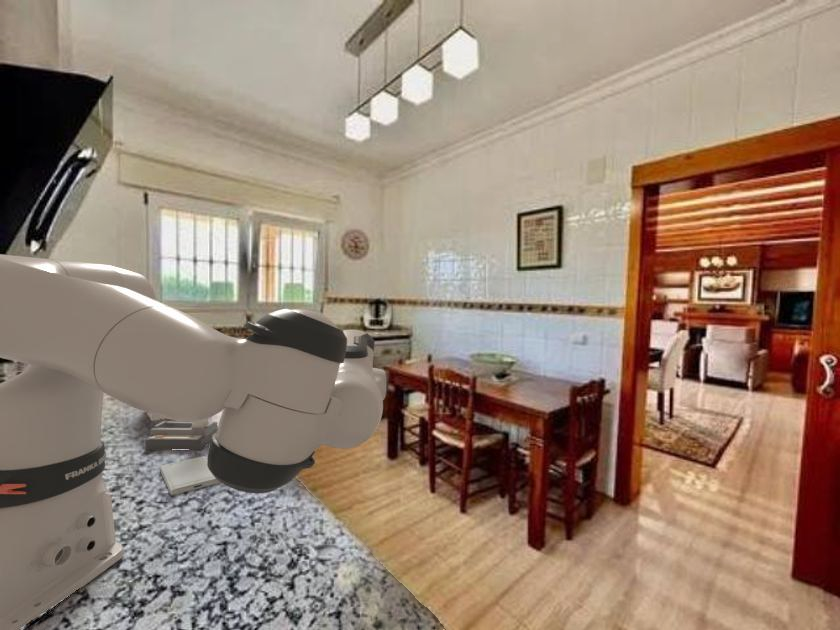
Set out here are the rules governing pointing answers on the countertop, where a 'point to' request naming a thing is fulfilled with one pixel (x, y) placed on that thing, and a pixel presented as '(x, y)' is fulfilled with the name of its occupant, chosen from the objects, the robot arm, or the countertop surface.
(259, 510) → the countertop surface
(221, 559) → the countertop surface
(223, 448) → the robot arm
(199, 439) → the switch base
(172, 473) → the hard drive
